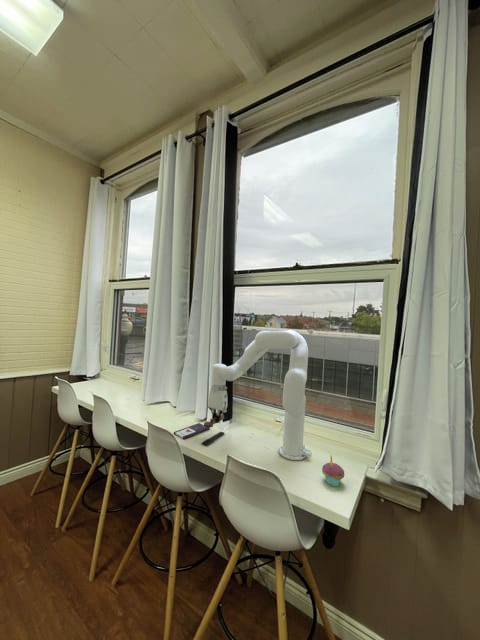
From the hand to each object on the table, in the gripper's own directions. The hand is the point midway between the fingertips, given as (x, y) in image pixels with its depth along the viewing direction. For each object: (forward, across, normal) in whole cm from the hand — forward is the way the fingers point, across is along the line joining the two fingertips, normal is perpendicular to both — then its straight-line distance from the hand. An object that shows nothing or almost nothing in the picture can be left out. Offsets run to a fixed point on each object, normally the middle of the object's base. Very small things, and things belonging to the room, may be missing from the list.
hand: (216, 421), depth 142 cm
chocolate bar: (+9, +15, +1) cm, 17 cm away
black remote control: (+9, 0, +1) cm, 9 cm away
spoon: (0, 0, +2) cm, 2 cm away
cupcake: (+8, -61, +5) cm, 62 cm away
